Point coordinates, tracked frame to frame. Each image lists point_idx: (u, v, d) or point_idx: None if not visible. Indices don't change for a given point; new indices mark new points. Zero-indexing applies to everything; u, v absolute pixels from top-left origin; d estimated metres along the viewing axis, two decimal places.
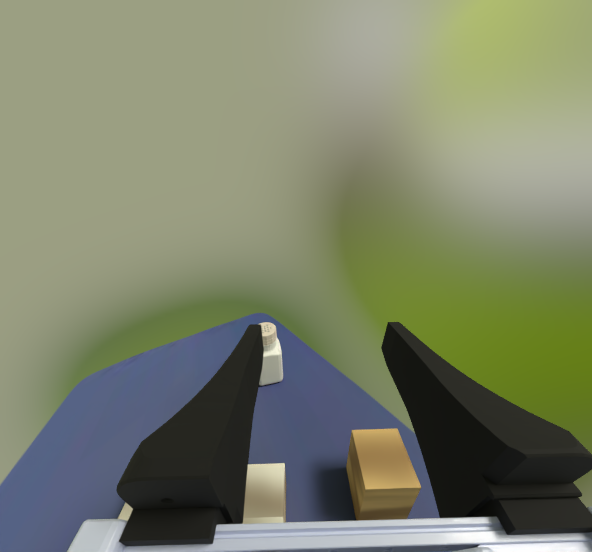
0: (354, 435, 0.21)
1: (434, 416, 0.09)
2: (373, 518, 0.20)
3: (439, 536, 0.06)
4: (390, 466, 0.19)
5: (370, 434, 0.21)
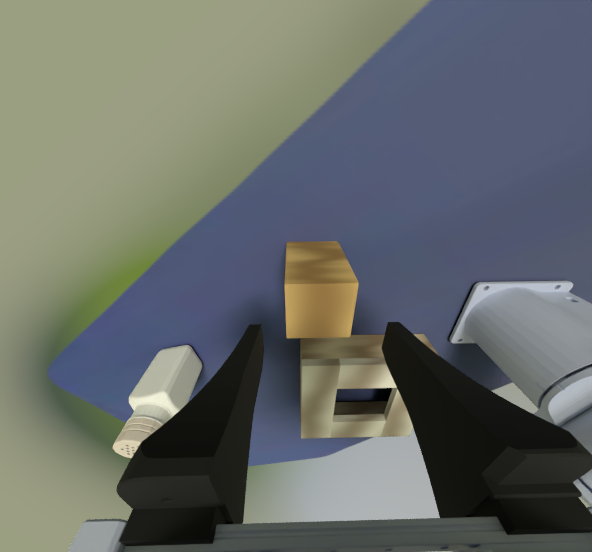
0: (293, 336, 0.16)
1: (434, 416, 0.09)
2: None
3: (439, 536, 0.06)
4: (332, 308, 0.14)
5: (292, 319, 0.15)
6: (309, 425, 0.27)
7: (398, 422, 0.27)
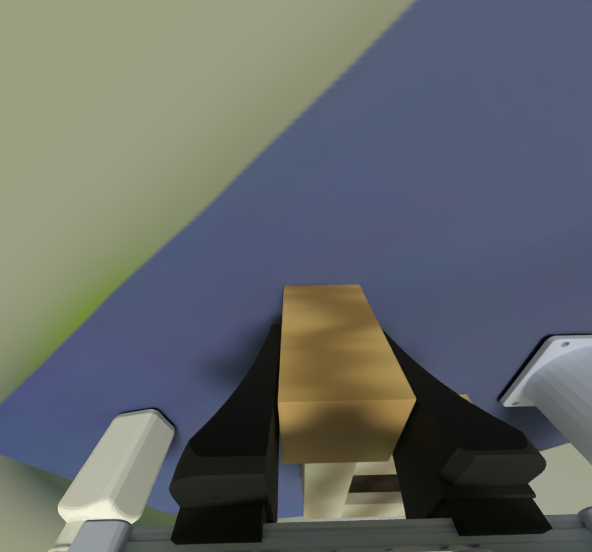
0: (294, 463, 0.09)
1: None
2: None
3: (439, 536, 0.06)
4: (362, 430, 0.08)
5: (293, 444, 0.09)
6: (314, 508, 0.21)
7: None
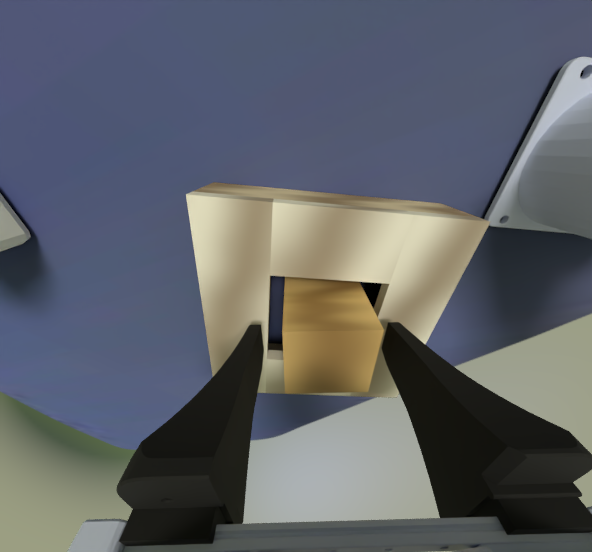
0: (294, 392, 0.12)
1: (434, 416, 0.09)
2: None
3: (439, 536, 0.06)
4: (346, 359, 0.11)
5: (293, 373, 0.11)
6: None
7: (382, 368, 0.16)
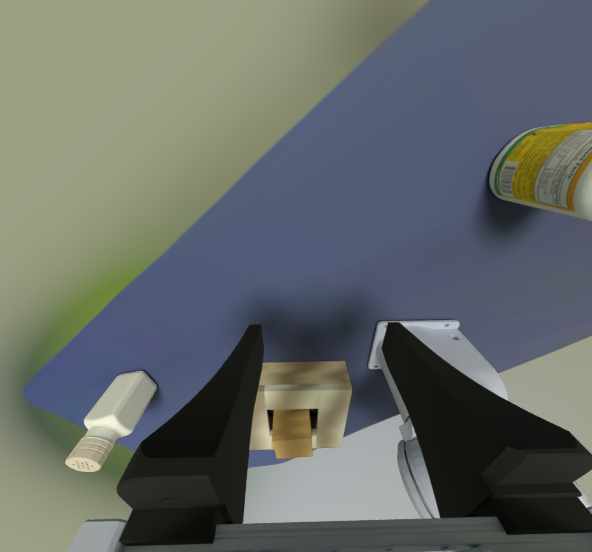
0: None
1: (434, 416, 0.09)
2: None
3: (440, 536, 0.06)
4: (299, 447, 0.26)
5: (279, 452, 0.27)
6: (250, 439, 0.31)
7: (327, 436, 0.31)
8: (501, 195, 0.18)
